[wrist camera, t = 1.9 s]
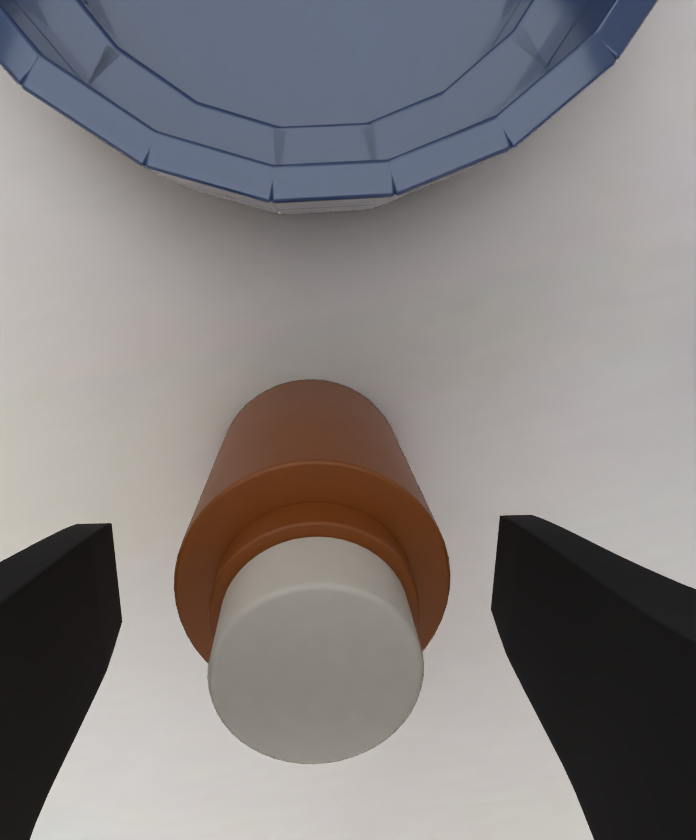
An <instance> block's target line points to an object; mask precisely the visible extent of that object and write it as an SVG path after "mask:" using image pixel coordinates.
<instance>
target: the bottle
mask: <svg viewBox="0 0 696 840" xmlns="http://www.w3.org/2000/svg"><path fill="white" fill-rule="evenodd" d="M449 590H450V566H449V557H448V553H447V550H446V546H445V542H444V540H443V537H442V535H441V533H440V530H439V528H438V526H437V524H436V522H435V520H434V518H433V515H432V513H431V511H430V509H429V507H428V505H427V503H426V501H425V499H424V496H423V494H422V492H421V490H420V488H419V486H418V484H417V482H416V479H415V477H414V475H413V473H412V471H411V469H410V467H409V465H408V463H407V460H406V458H405V456H404V454H403V452H402V450H401V448H400V446H399V444H398V441H397V439H396V437H395V435H394V433H393V431H392V429H391V427H390V425H389V423H388V422H387V420H386V418H385V417H384V415H383V414H382V413H381V412H380V411H379V409H378V408H377V407H376V406H375V405H374V404H373V403H372V402H370V401H369V400H368V399H367V398H365V397H364V396H363V395H361V394H360V393H358V392H356V391H354V390H352V389H350V388H348V387H346V386H343V385H340V384H337V383H333V382H329V381H322V380H299V381H292V382H288V383H284V384H281V385H278V386H275V387H273V388H271V389H269V390H266V391H265V392H263V393H261V394H260V395H258V396H257V397H255V398H254V399H253V400H252V401H250V402H249V403H248V404H247V405H246V406H245V407H244V408H243V409H242V410H241V411H240V412H239V413H238V415H237V416H236V418H235V419H234V420H233V422H232V424H231V426H230V427H229V429H228V431H227V434H226V436H225V438H224V441H223V443H222V446H221V448H220V451H219V453H218V456H217V458H216V461H215V463H214V465H213V468H212V470H211V473H210V475H209V478H208V480H207V483H206V485H205V488H204V490H203V492H202V495H201V497H200V500H199V502H198V505H197V507H196V510H195V512H194V515H193V517H192V519H191V522H190V524H189V527H188V529H187V532H186V534H185V537H184V539H183V542H182V545H181V547H180V550H179V553H178V556H177V562H176V567H175V574H174V592H175V601H176V606H177V610H178V614H179V617H180V620H181V623H182V625H183V627H184V630H185V632H186V634H187V636H188V638H189V639H190V641H191V642H192V644H193V646H194V647H195V649H196V650H197V651H198V652H199V654H200V655H201V656H202V657H203V658H204V660H205V661H206V662H207V663H208V687H209V692H210V696H211V699H212V702H213V705H214V707H215V709H216V711H217V714H218V715H219V717H220V718H221V720H222V722H223V723H224V725H225V726H226V727H227V728H228V729H229V730H230V732H231V733H232V734H233V735H234V736H236V737H237V738H238V739H239V740H240V741H241V742H243V743H244V744H246V745H247V746H249V747H250V748H252V749H254V750H256V751H258V752H259V753H261V754H264V755H266V756H269V757H272V758H274V759H278V760H282V761H286V762H293V763H300V764H320V763H330V762H336V761H341V760H344V759H348V758H351V757H354V756H357V755H359V754H362V753H364V752H366V751H368V750H370V749H372V748H374V747H376V746H377V745H379V744H380V743H382V742H383V741H384V740H386V739H387V738H388V737H390V736H391V735H392V734H393V733H394V732H395V731H396V730H397V729H398V728H399V727H400V726H401V725H402V724H403V723H404V721H405V720H406V719H407V717H408V716H409V714H410V713H411V711H412V709H413V707H414V705H415V703H416V701H417V699H418V696H419V693H420V690H421V687H422V681H423V676H424V660H423V653H422V651H423V650H424V649H425V648H426V646H427V645H428V643H429V642H430V640H431V639H432V637H433V636H434V634H435V632H436V630H437V628H438V626H439V624H440V622H441V620H442V617H443V614H444V611H445V608H446V605H447V601H448V595H449Z"/></svg>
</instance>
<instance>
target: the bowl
mask: <svg viewBox="0 0 696 840" xmlns="http://www.w3.org/2000/svg"><path fill="white" fill-rule="evenodd" d="M657 1H658V0H0V65H1V66H2V67H3V68H4V69H5V70H6V71H7V73H8V74H9V75H10V76H11V77H12V78H13V79H14V81H15V82H16V83H17V84H19V85H21V86H22V88H23V89H24V90H25V91H27V92H28V93H30V94H31V95H33V96H34V97H36V98H37V99H39V100H40V101H42V102H43V103H45V104H47V105H48V106H50V107H51V108H53V109H54V110H56V111H57V112H59V113H60V114H62V115H63V116H65V117H67V118H68V119H70V120H71V121H73V122H74V123H76V124H77V125H79V126H80V127H82V128H83V129H85V130H86V131H88V132H90V133H91V134H93V135H94V136H96V137H97V138H99V139H100V140H102V141H103V142H105V143H106V144H108V145H109V146H111V147H113V148H114V149H116V150H117V151H119V152H120V153H122V154H123V155H125V156H126V157H128V158H129V159H131V160H133V161H134V162H136V163H137V164H139V165H140V166H142V167H144V168H146V169H148V170H150V171H153V172H155V173H157V174H159V175H161V176H163V177H165V178H168V179H170V180H172V181H174V182H176V183H178V184H180V185H182V186H185V187H187V188H189V189H191V190H194V191H198V192H201V193H205V194H208V195H212V196H216V197H219V198H223V199H226V200H230V201H233V202H237V203H241V204H244V205H248V206H251V207H255V208H258V209H262V210H266V211H269V212H273V213H279V212H280V213H281V214H300V213H318V212H337V211H355V210H369V209H371V208H376V207H379V206H381V205H384V204H386V203H389V202H391V201H394V200H396V199H398V198H401V197H403V196H406V195H408V194H411V193H413V192H416V191H418V190H421V189H423V188H426V187H428V186H430V185H433V184H435V183H438V182H440V181H443V180H445V179H448V178H450V177H453V176H455V175H457V174H459V173H462V172H464V171H466V170H468V169H470V168H473V167H475V166H477V165H479V164H482V163H484V162H486V161H488V160H490V159H493V158H495V157H497V156H499V155H501V154H504V153H506V152H508V151H509V150H511V149H513V148H515V147H516V146H517V145H519V144H520V143H521V142H522V141H523V140H525V139H526V138H527V137H528V136H529V135H531V134H532V133H533V132H534V131H535V130H537V129H538V128H539V127H540V126H541V125H543V124H544V123H545V122H546V121H547V120H548V119H550V118H551V117H552V116H553V115H554V114H556V113H557V112H558V111H559V110H560V109H562V108H563V107H564V106H565V105H566V104H568V103H569V102H570V101H571V100H572V99H574V98H575V97H576V96H577V95H578V94H579V93H581V92H582V91H583V90H584V89H585V88H587V87H588V86H589V85H590V84H591V83H593V82H594V81H595V80H596V79H597V78H599V77H600V76H601V75H602V74H603V73H604V72H606V71H607V70H608V69H609V68H610V67H612V66H613V65H614V63H615V62H616V60H617V59H619V57H620V56H621V54H622V53H623V51H624V50H625V49H626V47H627V46H628V44H629V43H630V41H631V40H632V38H633V37H634V35H635V34H636V32H637V31H638V29H639V28H640V26H641V25H642V23H643V22H644V20H645V19H646V17H647V16H648V14H649V13H650V11H651V10H652V9H653V7H654V6H655V4H656V3H657Z"/></svg>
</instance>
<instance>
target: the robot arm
mask: <svg viewBox="0 0 696 840" xmlns="http://www.w3.org/2000/svg"><path fill="white" fill-rule="evenodd" d="M491 611H492V614H493V617H494V620H495V623H496V626H497V629H498V632H499V635H500V638H501V641H502V643H503V646H504V649H505V652H506V654H507V657H508V659H509V661H510V663H511V665H512V667H513V669H514V671H515V673H516V675H517V677H518V679H519V681H520V683H521V685H522V687H523V689H524V691H525V693H526V695H527V697H528V698H529V700H530V702H531V704H532V706H533V708H534V710H535V712H536V714H537V716H538V718H539V720H540V722H541V724H542V725H543V727H544V729H545V731H546V733H547V735H548V737H549V739H550V741H551V743H552V745H553V747H554V749H555V751H556V753H557V754H558V756H559V758H560V760H561V762H562V764H563V766H564V769H565V771H566V773H567V775H568V777H569V779H570V781H571V784H572V786H573V788H574V790H575V792H576V795H577V797H578V800H579V802H580V805H581V807H582V810H583V813H584V815H585V818H586V820H587V823H588V825H589V828H590V830H591V833H592V835H593V838H594V840H696V589H693V588H691V587H688V586H686V585H683V584H681V583H678V582H676V581H674V580H672V579H669V578H667V577H665V576H662V575H660V574H658V573H656V572H653V571H651V570H649V569H646V568H644V567H642V566H640V565H638V564H636V563H633V562H631V561H629V560H627V559H625V558H623V557H621V556H619V555H617V554H614V553H612V552H610V551H608V550H606V549H604V548H602V547H600V546H598V545H596V544H594V543H592V542H590V541H588V540H586V539H584V538H582V537H580V536H578V535H576V534H574V533H572V532H570V531H568V530H566V529H564V528H562V527H560V526H558V525H556V524H553V523H551V522H549V521H547V520H544V519H542V518H539V517H536V516H533V515H507V516H500V521H499V532H498V542H497V552H496V563H495V573H494V583H493V594H492V604H491ZM121 623H122V615H121V606H120V597H119V588H118V579H117V570H116V561H115V551H114V542H113V533H112V524H111V523H106V524H76V525H73V526H70V527H68V528H65V529H63V530H61V531H59V532H57V533H55V534H53V535H51V536H49V537H47V538H45V539H43V540H41V541H39V542H37V543H35V544H33V545H31V546H30V547H28V548H26V549H24V550H22V551H20V552H18V553H16V554H14V555H13V556H11V557H9V558H7V559H5V560H3V561H1V562H0V840H30V837H31V834H32V832H33V829H34V826H35V823H36V821H37V818H38V816H39V814H40V812H41V809H42V807H43V805H44V802H45V800H46V798H47V795H48V793H49V791H50V789H51V787H52V784H53V782H54V780H55V778H56V776H57V774H58V772H59V770H60V768H61V766H62V764H63V762H64V760H65V757H66V755H67V753H68V751H69V749H70V747H71V745H72V743H73V741H74V739H75V737H76V735H77V733H78V730H79V728H80V726H81V724H82V722H83V720H84V718H85V716H86V714H87V712H88V710H89V707H90V705H91V703H92V701H93V699H94V697H95V695H96V693H97V690H98V688H99V686H100V684H101V682H102V680H103V678H104V675H105V673H106V671H107V668H108V665H109V662H110V659H111V656H112V653H113V650H114V647H115V643H116V640H117V637H118V633H119V630H120V627H121Z"/></svg>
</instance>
